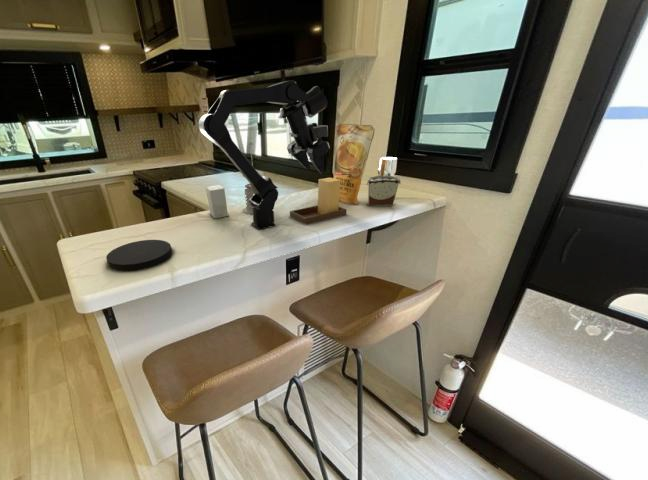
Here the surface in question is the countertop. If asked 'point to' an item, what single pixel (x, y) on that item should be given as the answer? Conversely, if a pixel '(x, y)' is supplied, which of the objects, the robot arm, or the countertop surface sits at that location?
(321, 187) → the box
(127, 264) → the wireless charger
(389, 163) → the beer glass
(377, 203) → the food container
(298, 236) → the countertop surface
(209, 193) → the small box
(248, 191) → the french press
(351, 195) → the pancake mix bag
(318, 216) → the tray
